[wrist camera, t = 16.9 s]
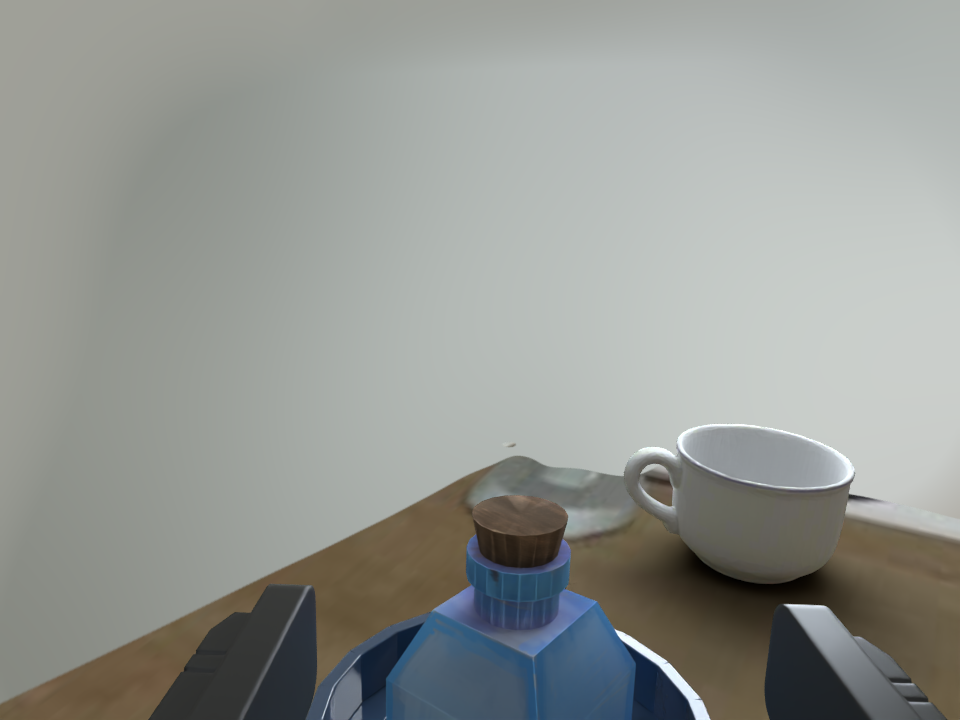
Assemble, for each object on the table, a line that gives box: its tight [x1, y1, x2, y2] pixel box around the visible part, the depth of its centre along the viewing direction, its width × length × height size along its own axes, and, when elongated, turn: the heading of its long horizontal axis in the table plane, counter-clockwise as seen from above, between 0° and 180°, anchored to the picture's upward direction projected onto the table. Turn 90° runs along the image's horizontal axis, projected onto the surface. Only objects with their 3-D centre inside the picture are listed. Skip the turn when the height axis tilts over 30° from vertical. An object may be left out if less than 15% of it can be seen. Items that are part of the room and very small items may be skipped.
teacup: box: [624, 424, 855, 584], centre depth 46 cm, size 14×11×8 cm
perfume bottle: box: [386, 495, 636, 720], centre depth 24 cm, size 6×6×12 cm
